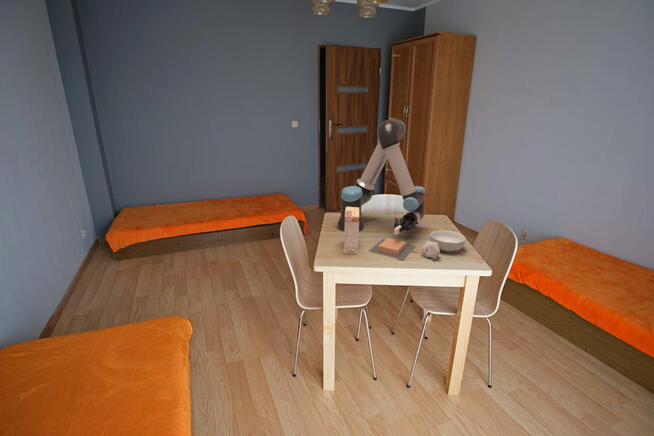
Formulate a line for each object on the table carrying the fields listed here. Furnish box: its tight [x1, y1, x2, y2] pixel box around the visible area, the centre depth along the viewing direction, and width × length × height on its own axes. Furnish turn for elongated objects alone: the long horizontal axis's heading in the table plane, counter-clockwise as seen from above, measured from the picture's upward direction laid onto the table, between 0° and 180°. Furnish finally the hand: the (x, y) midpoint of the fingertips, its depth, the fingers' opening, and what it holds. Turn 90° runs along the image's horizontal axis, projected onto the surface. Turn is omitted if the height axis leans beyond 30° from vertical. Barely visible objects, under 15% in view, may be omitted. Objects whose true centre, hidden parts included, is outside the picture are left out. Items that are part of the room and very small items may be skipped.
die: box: [421, 240, 441, 260], centre depth 165 cm, size 8×9×10 cm
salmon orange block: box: [378, 237, 407, 256], centre depth 172 cm, size 10×3×12 cm
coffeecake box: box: [343, 207, 360, 255], centre depth 172 cm, size 15×7×20 cm, turn 175°
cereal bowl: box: [429, 229, 467, 253], centre depth 175 cm, size 17×17×7 cm
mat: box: [368, 238, 417, 261], centre depth 173 cm, size 18×19×1 cm
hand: (395, 232), depth 170 cm, fingers closed
